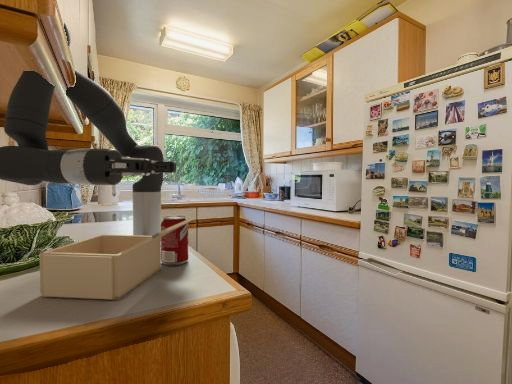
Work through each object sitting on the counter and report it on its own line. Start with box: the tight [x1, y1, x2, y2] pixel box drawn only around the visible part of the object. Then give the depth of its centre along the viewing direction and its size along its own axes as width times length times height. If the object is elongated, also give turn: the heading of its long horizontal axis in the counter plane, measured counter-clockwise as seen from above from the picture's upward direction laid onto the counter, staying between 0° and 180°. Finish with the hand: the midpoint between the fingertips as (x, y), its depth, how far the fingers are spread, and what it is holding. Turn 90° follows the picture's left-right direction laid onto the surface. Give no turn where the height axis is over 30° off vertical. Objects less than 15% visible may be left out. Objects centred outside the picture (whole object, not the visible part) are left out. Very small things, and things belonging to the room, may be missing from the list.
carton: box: [38, 234, 162, 301], centre depth 57 cm, size 18×15×8 cm
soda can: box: [160, 214, 189, 267], centre depth 70 cm, size 7×7×12 cm
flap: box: [121, 216, 197, 255], centre depth 56 cm, size 16×1×10 cm
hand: (175, 167), depth 55 cm, fingers closed
